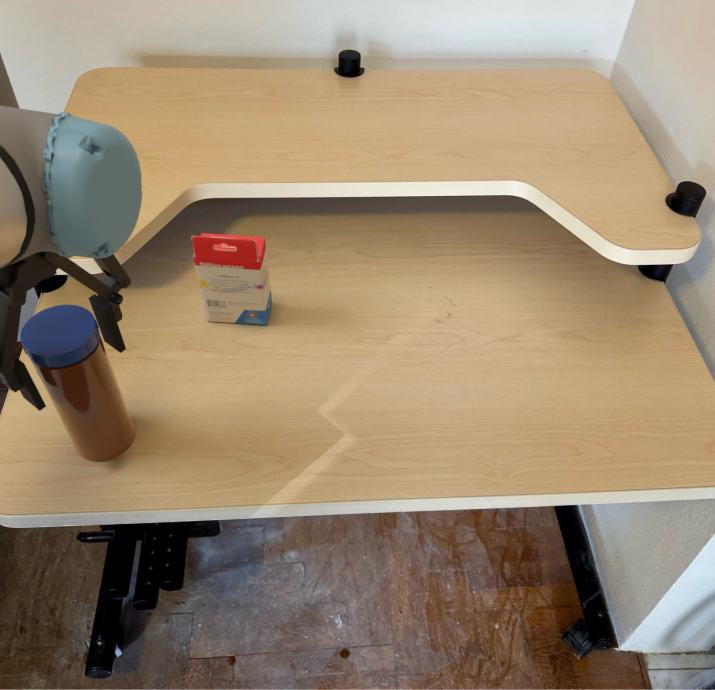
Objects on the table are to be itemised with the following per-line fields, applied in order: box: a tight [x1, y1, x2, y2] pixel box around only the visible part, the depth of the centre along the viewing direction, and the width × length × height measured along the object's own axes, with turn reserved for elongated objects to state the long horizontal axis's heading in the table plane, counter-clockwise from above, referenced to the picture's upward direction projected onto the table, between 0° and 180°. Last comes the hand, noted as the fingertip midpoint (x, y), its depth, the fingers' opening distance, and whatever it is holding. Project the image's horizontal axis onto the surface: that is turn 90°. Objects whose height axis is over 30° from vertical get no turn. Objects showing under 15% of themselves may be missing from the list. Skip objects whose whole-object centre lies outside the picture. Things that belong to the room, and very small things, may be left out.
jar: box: [30, 336, 136, 462], centre depth 72 cm, size 7×7×17 cm
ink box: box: [190, 232, 273, 326], centre depth 88 cm, size 8×5×15 cm, turn 85°
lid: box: [19, 304, 101, 368], centre depth 66 cm, size 7×7×2 cm
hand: (76, 372), depth 70 cm, fingers open, 9 cm apart
